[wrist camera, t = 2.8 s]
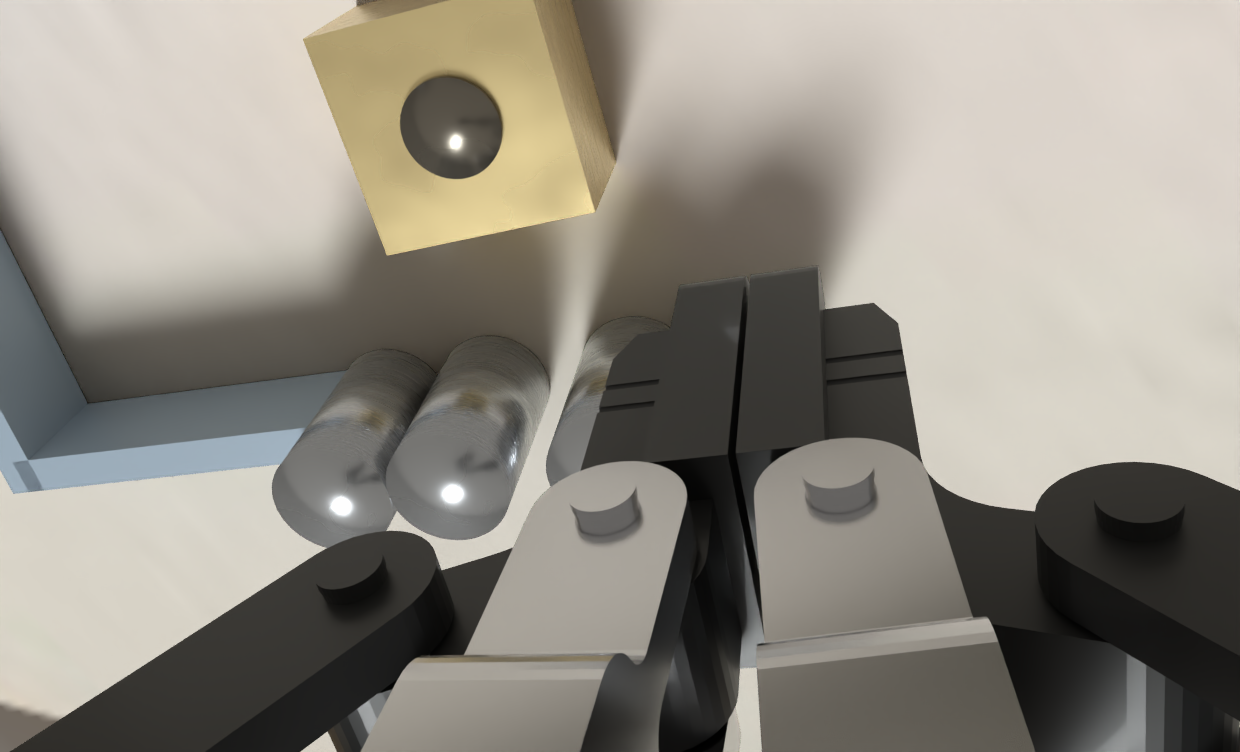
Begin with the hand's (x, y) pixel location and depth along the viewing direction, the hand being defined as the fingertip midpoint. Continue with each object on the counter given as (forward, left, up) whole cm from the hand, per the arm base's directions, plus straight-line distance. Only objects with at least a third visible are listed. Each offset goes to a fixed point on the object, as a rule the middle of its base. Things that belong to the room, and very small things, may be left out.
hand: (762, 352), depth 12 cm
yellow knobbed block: (+7, 0, -15) cm, 17 cm away
